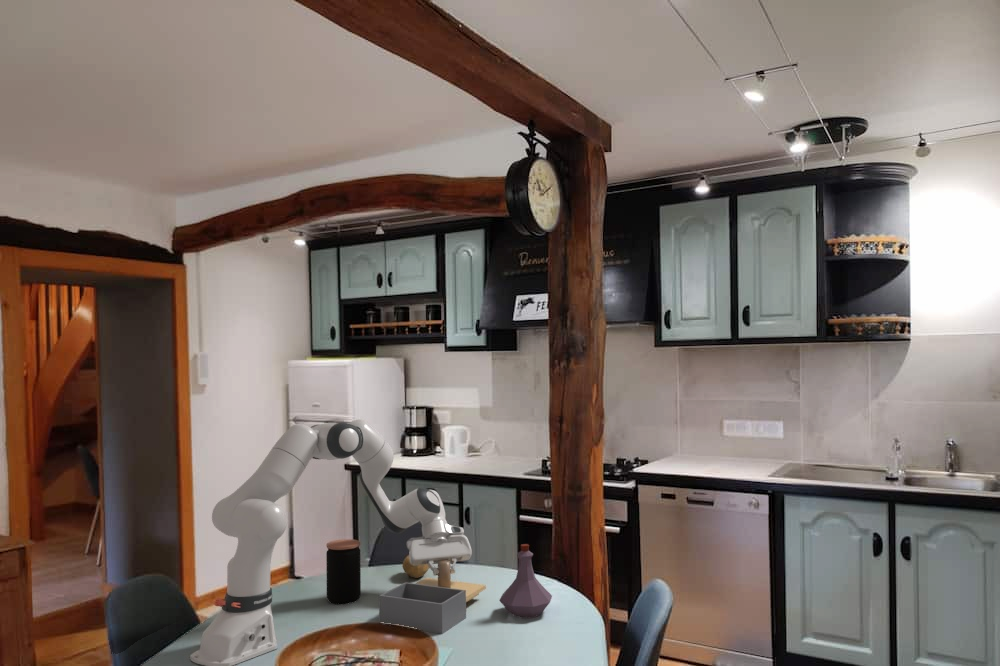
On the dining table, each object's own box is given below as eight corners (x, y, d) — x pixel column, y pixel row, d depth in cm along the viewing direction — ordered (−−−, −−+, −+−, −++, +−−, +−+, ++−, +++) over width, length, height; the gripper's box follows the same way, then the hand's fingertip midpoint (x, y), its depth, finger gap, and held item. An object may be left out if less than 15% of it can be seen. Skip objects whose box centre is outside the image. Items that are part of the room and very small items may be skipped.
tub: (442, 633, 200) (442, 604, 200) (379, 623, 209) (379, 595, 209) (466, 617, 213) (465, 590, 213) (405, 608, 222) (405, 582, 222)
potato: (399, 582, 249) (399, 559, 250) (406, 571, 263) (405, 549, 264) (427, 582, 249) (427, 559, 250) (432, 571, 263) (432, 548, 264)
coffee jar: (364, 594, 236) (364, 539, 237) (355, 605, 226) (354, 547, 227) (333, 594, 238) (332, 538, 238) (321, 604, 227) (321, 546, 228)
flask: (560, 619, 210) (559, 549, 211) (505, 624, 207) (504, 553, 208) (545, 601, 226) (543, 537, 227) (493, 606, 223) (492, 540, 224)
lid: (463, 607, 217) (463, 571, 217) (401, 598, 226) (401, 564, 227) (486, 593, 230) (485, 559, 231) (426, 585, 240) (426, 553, 240)
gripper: (407, 533, 232) (414, 571, 223) (467, 527, 239) (477, 564, 230) (404, 543, 236) (410, 582, 227) (464, 538, 243) (473, 575, 234)
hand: (444, 573), depth 228 cm, fingers closed on lid, 4 cm apart
